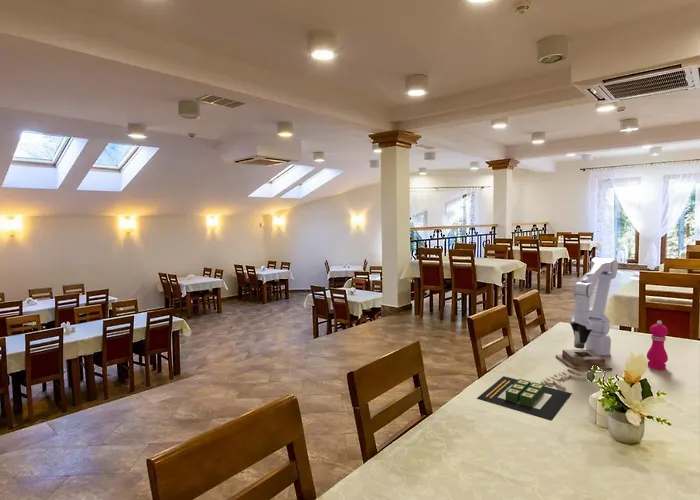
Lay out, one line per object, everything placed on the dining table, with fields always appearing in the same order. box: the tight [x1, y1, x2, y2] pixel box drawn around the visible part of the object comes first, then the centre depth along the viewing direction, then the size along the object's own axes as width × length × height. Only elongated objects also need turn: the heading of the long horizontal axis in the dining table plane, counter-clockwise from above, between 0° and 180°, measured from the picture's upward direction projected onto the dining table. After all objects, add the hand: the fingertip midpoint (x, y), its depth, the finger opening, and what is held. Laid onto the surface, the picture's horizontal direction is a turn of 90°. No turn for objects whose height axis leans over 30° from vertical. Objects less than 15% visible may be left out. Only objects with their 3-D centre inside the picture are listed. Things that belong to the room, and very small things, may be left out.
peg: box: [573, 330, 586, 350], centre depth 186 cm, size 4×4×7 cm
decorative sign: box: [540, 366, 587, 391], centre depth 168 cm, size 23×2×10 cm
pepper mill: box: [646, 320, 669, 371], centre depth 179 cm, size 7×7×20 cm
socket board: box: [555, 349, 613, 371], centre depth 186 cm, size 16×16×4 cm
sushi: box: [476, 375, 573, 421], centre depth 155 cm, size 25×25×4 cm
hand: (580, 341), depth 186 cm, fingers closed on peg, 4 cm apart
